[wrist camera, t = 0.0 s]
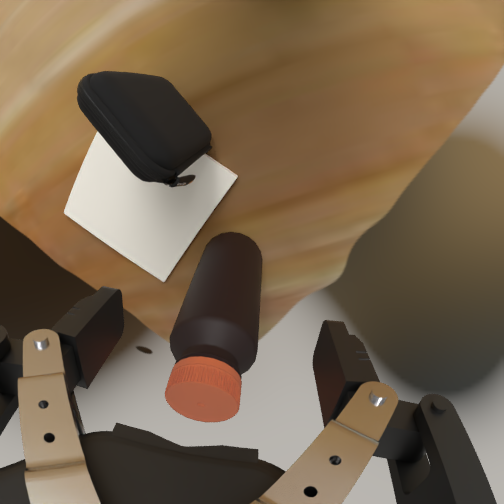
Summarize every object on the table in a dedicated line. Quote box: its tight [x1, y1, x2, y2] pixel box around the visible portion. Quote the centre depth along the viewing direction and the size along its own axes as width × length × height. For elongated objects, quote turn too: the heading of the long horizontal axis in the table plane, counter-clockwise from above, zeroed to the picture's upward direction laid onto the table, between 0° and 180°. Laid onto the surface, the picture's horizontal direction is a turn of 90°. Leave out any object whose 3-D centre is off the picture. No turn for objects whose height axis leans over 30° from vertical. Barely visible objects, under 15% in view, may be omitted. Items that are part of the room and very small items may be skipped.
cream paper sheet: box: [64, 131, 238, 282], centre depth 32 cm, size 16×16×1 cm
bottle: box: [165, 232, 262, 422], centre depth 27 cm, size 7×7×20 cm
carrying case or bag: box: [77, 71, 212, 188], centre depth 22 cm, size 11×3×15 cm, turn 37°
